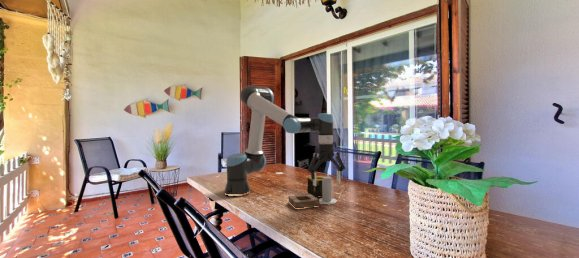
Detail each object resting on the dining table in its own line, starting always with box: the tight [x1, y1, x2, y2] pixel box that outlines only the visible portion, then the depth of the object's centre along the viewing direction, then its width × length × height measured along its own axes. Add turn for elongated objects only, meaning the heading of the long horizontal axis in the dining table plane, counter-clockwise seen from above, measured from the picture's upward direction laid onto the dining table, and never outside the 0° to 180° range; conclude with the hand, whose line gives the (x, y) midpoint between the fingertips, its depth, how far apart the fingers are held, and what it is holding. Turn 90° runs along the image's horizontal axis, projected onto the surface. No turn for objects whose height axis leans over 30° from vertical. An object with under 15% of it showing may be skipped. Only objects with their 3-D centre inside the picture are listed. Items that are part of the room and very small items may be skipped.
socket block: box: [288, 193, 320, 209], centre depth 136 cm, size 12×12×4 cm
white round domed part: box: [318, 197, 338, 205], centre depth 140 cm, size 10×10×1 cm
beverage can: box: [321, 176, 333, 202], centre depth 140 cm, size 5×5×12 cm
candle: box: [306, 175, 325, 197], centre depth 153 cm, size 10×10×10 cm
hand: (326, 184), depth 140 cm, fingers open, 13 cm apart
